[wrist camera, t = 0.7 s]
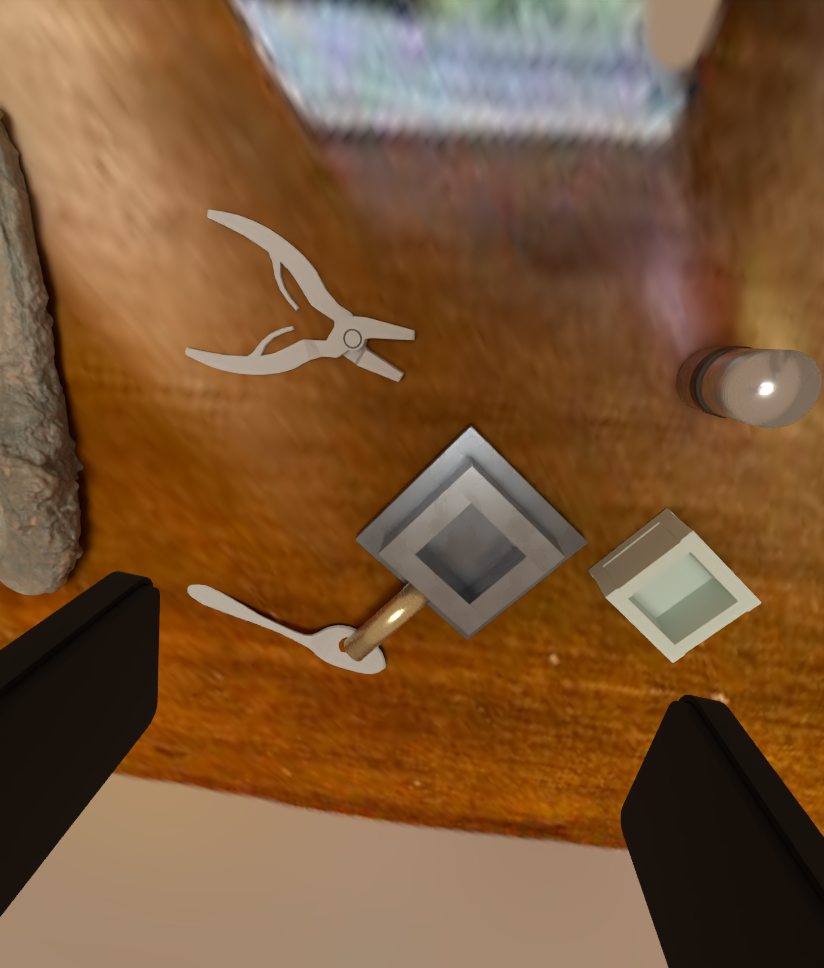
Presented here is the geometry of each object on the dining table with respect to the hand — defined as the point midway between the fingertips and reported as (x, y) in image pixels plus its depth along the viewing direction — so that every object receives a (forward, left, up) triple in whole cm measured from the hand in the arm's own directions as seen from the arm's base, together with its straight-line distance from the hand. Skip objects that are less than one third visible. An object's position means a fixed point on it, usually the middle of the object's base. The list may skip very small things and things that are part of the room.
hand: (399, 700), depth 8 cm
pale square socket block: (-4, +19, -26) cm, 33 cm away
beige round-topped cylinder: (-15, +10, -26) cm, 32 cm away
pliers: (+1, -12, -27) cm, 29 cm away
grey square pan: (+7, +7, -26) cm, 28 cm away
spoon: (+21, +1, -27) cm, 34 cm away
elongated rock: (+19, -25, -27) cm, 41 cm away
